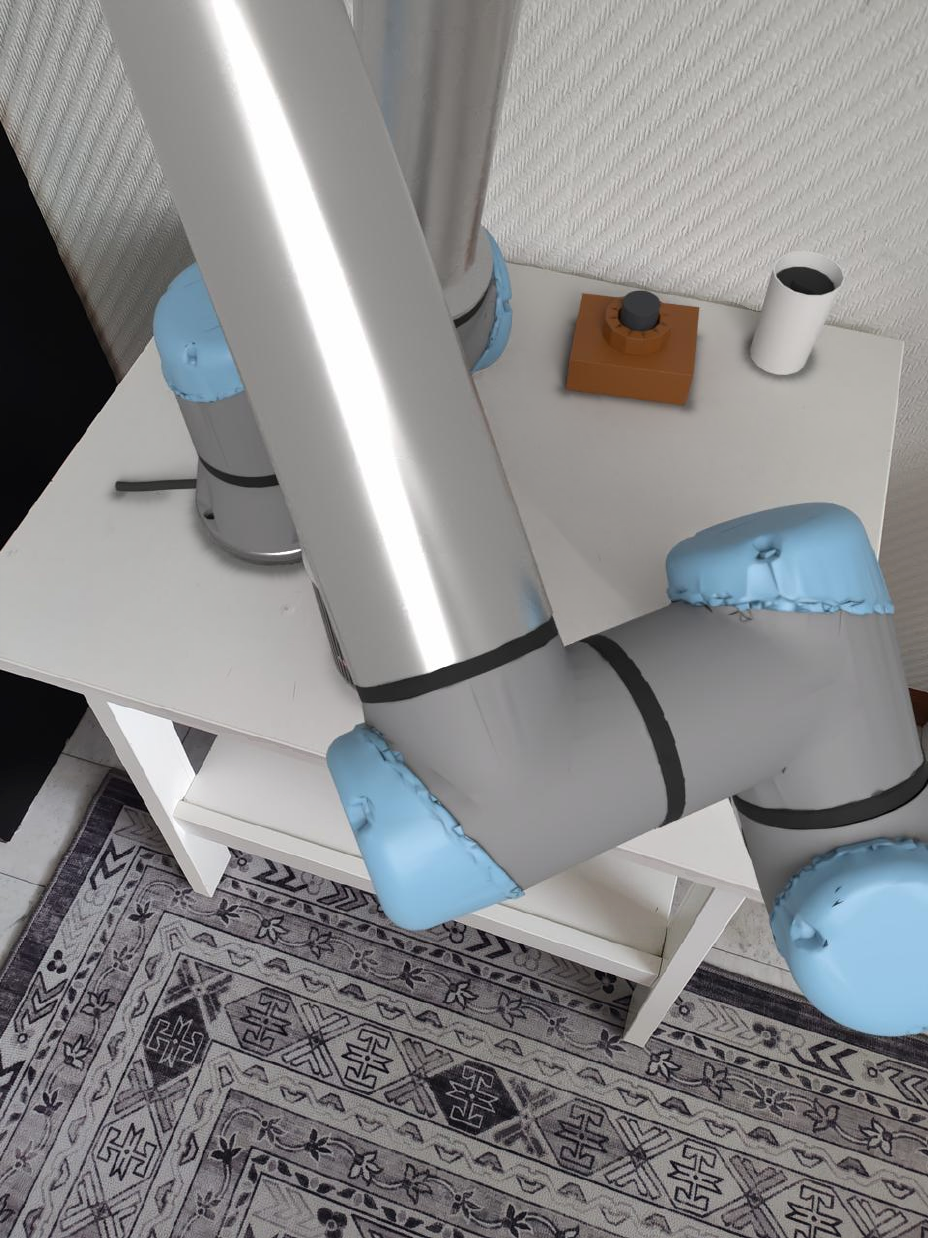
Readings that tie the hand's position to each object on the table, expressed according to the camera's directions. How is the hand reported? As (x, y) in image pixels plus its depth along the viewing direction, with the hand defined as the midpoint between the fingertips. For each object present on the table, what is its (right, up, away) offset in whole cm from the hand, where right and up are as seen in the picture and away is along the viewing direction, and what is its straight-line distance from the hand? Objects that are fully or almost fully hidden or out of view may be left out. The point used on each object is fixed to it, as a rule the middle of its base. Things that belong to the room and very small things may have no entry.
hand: (736, 665), depth 67 cm
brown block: (-4, +30, +24) cm, 39 cm away
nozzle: (-4, +33, +19) cm, 38 cm away
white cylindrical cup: (+12, +31, +25) cm, 41 cm away
